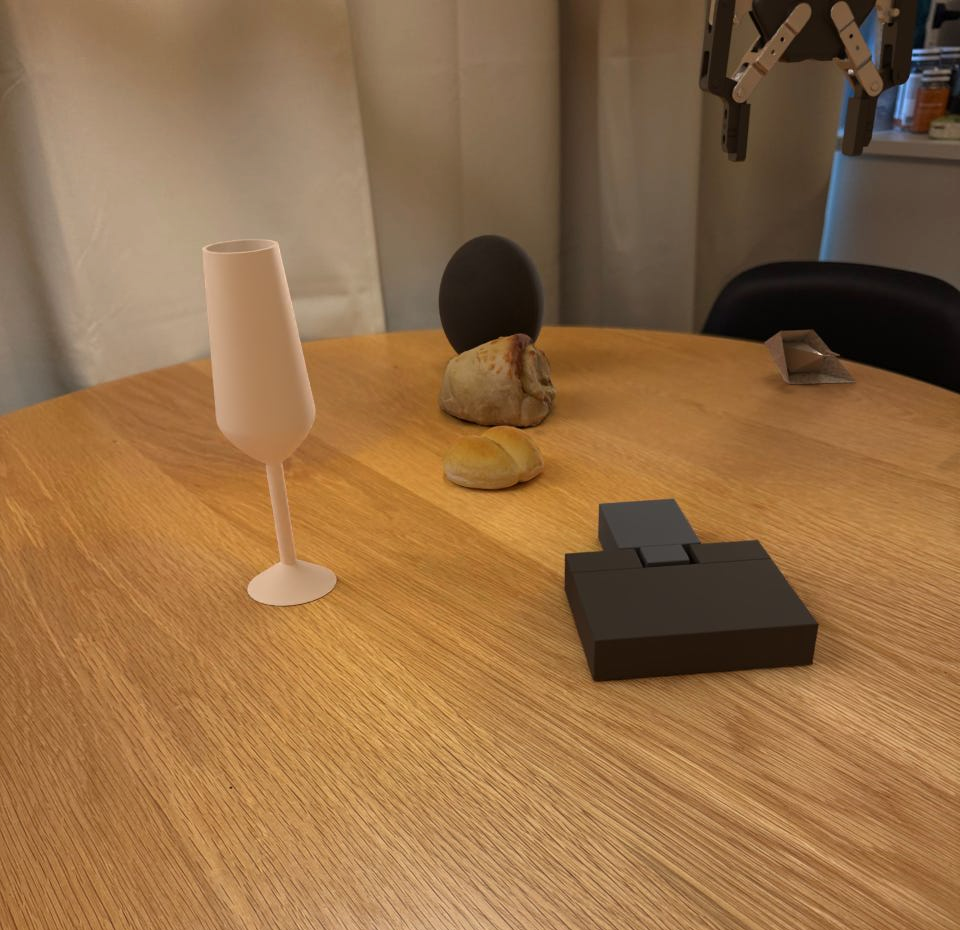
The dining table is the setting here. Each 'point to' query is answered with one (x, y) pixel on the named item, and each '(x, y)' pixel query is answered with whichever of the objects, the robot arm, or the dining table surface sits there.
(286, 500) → the champagne flute
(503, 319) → the decorative egg
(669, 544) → the pad
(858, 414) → the dining table surface
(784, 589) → the notch pad
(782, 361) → the paper boat
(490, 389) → the pastry
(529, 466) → the bread roll
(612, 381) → the dining table surface
